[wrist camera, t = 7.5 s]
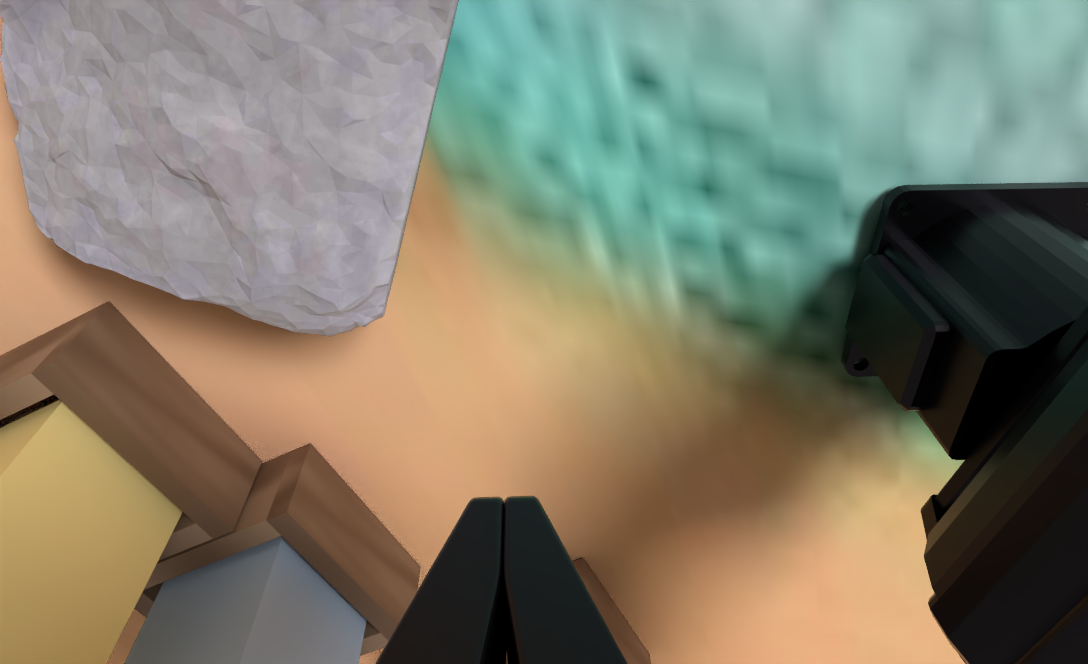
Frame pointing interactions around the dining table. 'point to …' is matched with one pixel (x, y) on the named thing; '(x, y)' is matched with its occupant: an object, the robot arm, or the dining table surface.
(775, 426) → the dining table surface
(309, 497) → the walnut sockets
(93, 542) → the ochre block
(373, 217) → the stone block
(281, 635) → the blue-grey block
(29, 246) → the dining table surface
